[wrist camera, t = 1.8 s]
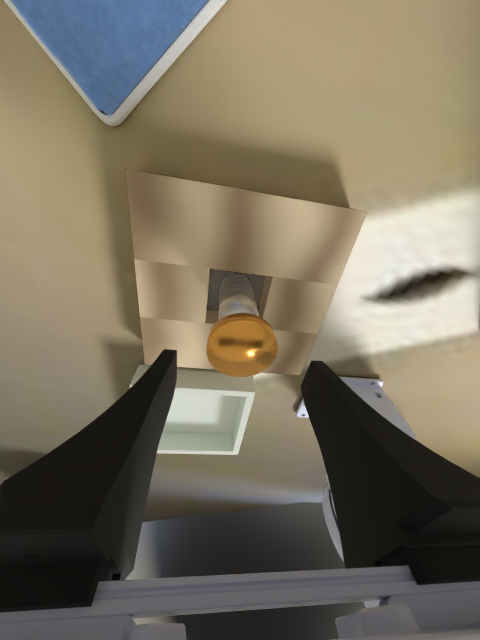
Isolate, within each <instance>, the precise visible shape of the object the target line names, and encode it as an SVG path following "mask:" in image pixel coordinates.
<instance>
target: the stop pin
mask: <svg viewBox="0 0 480 640" xmlns="http://www.w3.org/2000/svg"><path fill="white" fill-rule="evenodd" d="M277 351H278V345H277V341H276V338H275V335H274V332H273V329H272V327H271V326H270V324H269V323H268V322H267V321H266V320H264V319H263V318H261V317H260V316H259V312H258V308H257V304H256V300H255V296H254V292H253V288H252V284H251V282H250V280H249V279H248V278H247V277H246V276H244V275H242V274H238V273H234V274H230V275H228V276H226V277H225V278H224V279H223V280H222V282H221V284H220V296H219V317H218V321H217V322H216V323H215V324H214V325H213V327H212V328H211V330H210V332H209V335H208V340H207V352H206V353H207V358H208V360H209V362H210V364H211V365H212V366H213V367H214V368H215V369H216V370H217V371H219V372H221V373H223V374H225V375H228V376H232V377H248V376H252V375H256V374H258V373H260V372H262V371H264V370H265V369H267V368H268V367H269V366H270V365H271V364H272V363H273V361H274V360H275V358H276V355H277Z"/></svg>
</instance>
